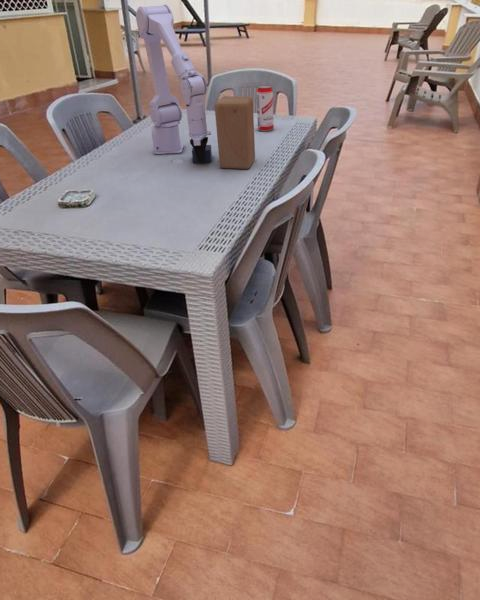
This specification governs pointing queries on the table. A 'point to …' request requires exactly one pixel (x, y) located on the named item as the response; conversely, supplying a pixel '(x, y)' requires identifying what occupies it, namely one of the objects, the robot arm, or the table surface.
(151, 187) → the table surface
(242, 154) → the wooden block
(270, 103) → the beer can
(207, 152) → the navy block
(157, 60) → the robot arm
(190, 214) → the table surface
